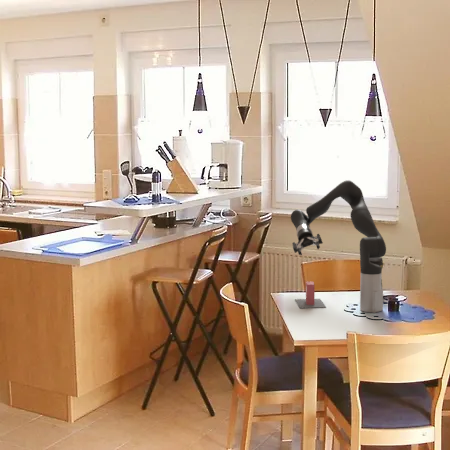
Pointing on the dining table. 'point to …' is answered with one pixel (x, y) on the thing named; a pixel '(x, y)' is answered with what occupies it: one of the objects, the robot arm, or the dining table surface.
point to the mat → (317, 304)
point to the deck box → (310, 293)
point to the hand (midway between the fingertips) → (309, 250)
